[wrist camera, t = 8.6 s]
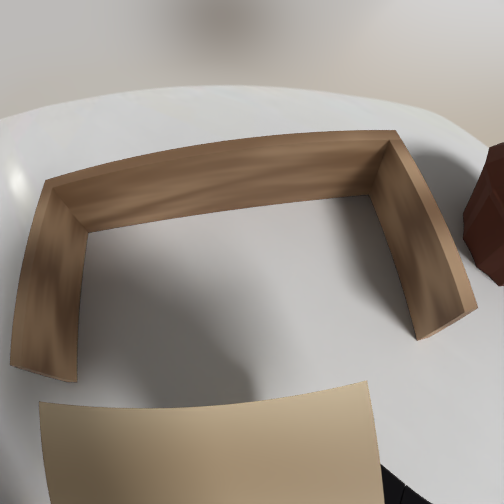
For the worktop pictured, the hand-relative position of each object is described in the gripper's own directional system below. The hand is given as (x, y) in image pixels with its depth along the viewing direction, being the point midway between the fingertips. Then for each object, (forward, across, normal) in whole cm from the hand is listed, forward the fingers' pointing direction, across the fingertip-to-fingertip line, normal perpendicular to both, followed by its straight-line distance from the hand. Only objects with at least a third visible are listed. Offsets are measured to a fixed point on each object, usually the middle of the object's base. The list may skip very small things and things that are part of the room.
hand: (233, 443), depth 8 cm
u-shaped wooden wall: (+14, 0, 0) cm, 14 cm away
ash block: (+4, 0, +6) cm, 7 cm away
